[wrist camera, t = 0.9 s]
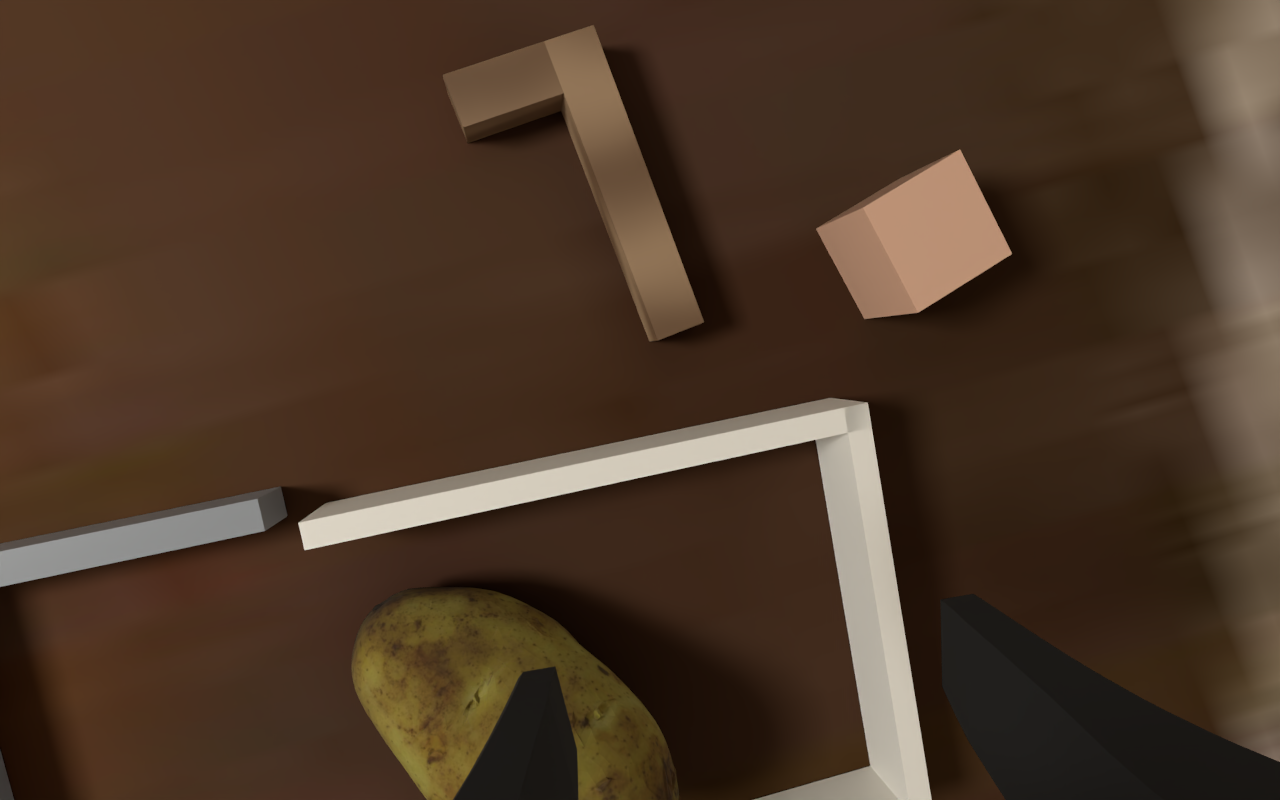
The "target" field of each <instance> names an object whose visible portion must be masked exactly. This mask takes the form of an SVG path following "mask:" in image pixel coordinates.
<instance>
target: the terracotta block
mask: <svg viewBox="0 0 1280 800" xmlns="http://www.w3.org/2000/svg"><path fill="white" fill-rule="evenodd" d="M816 230H817V231H818V233H819V235H820V237H821V239H822V241H823V243H824V245H825V246H826V248H827V250H828V252H829V254H830V256H831V258H832V259H833V261H834V263H835V265H836V267H837V269H838V271H839V272H840V274H841V276H842V278H843V280H844V282H845V284H846V286H847V287H848V289H849V291H850V293H851V295H852V297H853V299H854V300H855V302H856V304H857V306H858V308H859V310H860V312H861V314H862V315H863V317H864V319H869V318H877V317H886V316H894V315H903V314H911V313H918V312H920V311H922V310H923V309H925V308H926V307H928V306H930V305H931V304H933V303H934V302H936V301H938V300H939V299H941V298H942V297H944V296H946V295H947V294H949V293H950V292H952V291H954V290H955V289H957V288H958V287H960V286H962V285H963V284H965V283H966V282H968V281H970V280H971V279H973V278H974V277H976V276H978V275H979V274H981V273H982V272H984V271H986V270H987V269H989V268H990V267H992V266H994V265H995V264H997V263H998V262H1000V261H1002V260H1003V259H1005V258H1006V257H1008V256H1010V255H1011V254H1012V252H1011V250H1010V248H1009V246H1008V244H1007V242H1006V240H1005V238H1004V236H1003V234H1002V232H1001V230H1000V228H999V226H998V224H997V222H996V220H995V218H994V216H993V214H992V212H991V210H990V208H989V206H988V204H987V202H986V200H985V198H984V196H983V194H982V192H981V190H980V188H979V186H978V184H977V182H976V180H975V178H974V176H973V174H972V172H971V170H970V168H969V166H968V164H967V162H966V160H965V158H964V156H963V154H962V152H961V150H958V151H956V152H954V153H952V154H949V155H947V156H945V157H943V158H941V159H939V160H937V161H935V162H933V163H931V164H929V165H927V166H925V167H923V168H920V169H918V170H916V171H914V172H912V173H910V174H908V175H906V176H904V177H902V178H900V179H898V180H897V181H895V182H893V183H892V184H890V185H888V186H887V187H885V188H883V189H881V190H880V191H878V192H876V193H875V194H873V195H871V196H870V197H868V198H866V199H865V200H863V201H861V202H860V203H858V204H856V205H855V206H853V207H851V208H850V209H848V210H846V211H845V212H843V213H841V214H840V215H838V216H836V217H835V218H833V219H831V220H830V221H828V222H826V223H825V224H823V225H821V226H820V227H818V228H816Z"/></svg>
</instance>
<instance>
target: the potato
mask: <svg viewBox="0 0 1280 800" xmlns="http://www.w3.org/2000/svg"><path fill="white" fill-rule="evenodd" d="M554 666H555V667H556V671H557V674H558V678H559V682H560V686H561V690H562V694H563V697H564V701H565V705H566V709H567V713H568V717H569V720H570V724H571V728H572V732H573V736H574V740H575V743H576V747H577V761H578V800H679V789H678V783H677V777H676V769H675V768H674V765H673V762H672V758H671V754H670V751H669V749H668V746H667V743H666V741H665V738H664V736H663V734H662V732H661V730H660V728H659V726H658V725H657V723H656V721H655V720H654V718H653V717H652V716H651V714H650V713H649V712H648V710H647V709H646V708H645V706H644V705H643V704H642V702H641V701H640V700H639V699H638V698H637V697H636V696H635V695H634V694H633V692H632V691H631V690H630V689H629V688H628V687H627V686H626V685H625V684H624V683H623V682H622V681H621V680H620V679H619V678H618V677H617V676H616V675H615V674H614V673H613V672H612V671H611V670H610V669H609V668H608V667H607V666H605V665H604V664H603V663H602V662H601V661H599V660H598V659H597V658H596V657H594V656H593V655H592V654H591V653H589V652H588V651H587V650H586V649H584V648H583V647H582V646H581V645H580V644H579V643H578V642H577V641H576V640H575V639H574V637H573V636H572V635H571V634H570V633H569V632H568V631H567V630H566V629H565V628H564V627H563V626H561V625H560V624H559V623H558V622H557V621H556V620H554V619H553V618H551V617H549V616H548V615H546V614H544V613H542V612H541V611H539V610H537V609H535V608H533V607H531V606H530V605H528V604H526V603H524V602H522V601H519V600H517V599H515V598H513V597H511V596H508V595H504V594H501V593H499V592H495V591H491V590H486V589H479V588H470V587H427V588H412V589H407V590H404V591H401V592H399V593H397V594H394V595H392V596H391V597H389V598H388V599H387V600H385V601H384V602H382V603H380V604H378V605H377V606H375V607H374V608H373V610H372V611H371V612H370V613H369V614H368V615H367V617H366V618H365V619H364V621H363V623H362V625H361V627H360V629H359V631H358V634H357V636H356V639H355V643H354V648H353V653H352V666H351V671H352V679H353V685H354V687H355V690H356V693H357V695H358V697H359V700H360V702H361V703H362V705H363V707H364V709H365V711H366V713H367V715H368V716H369V717H370V719H371V721H372V722H373V724H374V725H375V727H376V728H377V730H378V732H379V733H380V735H381V736H382V738H383V739H384V740H385V742H386V743H387V745H388V746H389V748H390V749H391V750H392V752H393V753H394V755H395V756H396V757H397V759H398V760H399V761H400V763H401V764H402V765H403V767H404V768H405V769H406V771H407V772H408V774H409V775H410V777H411V778H412V780H413V781H414V782H415V784H416V785H417V787H418V788H419V789H420V791H421V792H422V794H423V795H424V796H425V798H426V799H427V800H453V799H454V797H455V796H456V794H457V792H458V791H459V789H460V787H461V786H462V784H463V783H464V781H465V779H466V778H467V776H468V774H469V773H470V771H471V769H472V768H473V766H474V764H475V762H476V760H477V759H478V757H479V755H480V753H481V751H482V749H483V748H484V746H485V744H486V742H487V740H488V739H489V737H490V735H491V733H492V731H493V729H494V727H495V725H496V723H497V721H498V719H499V717H500V715H501V713H502V711H503V709H504V707H505V705H506V703H507V701H508V699H509V697H510V695H511V693H512V691H513V689H514V686H515V684H516V682H517V680H518V678H519V676H520V675H521V674H522V673H523V672H525V671H531V670H537V669H543V668H548V667H554Z"/></svg>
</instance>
